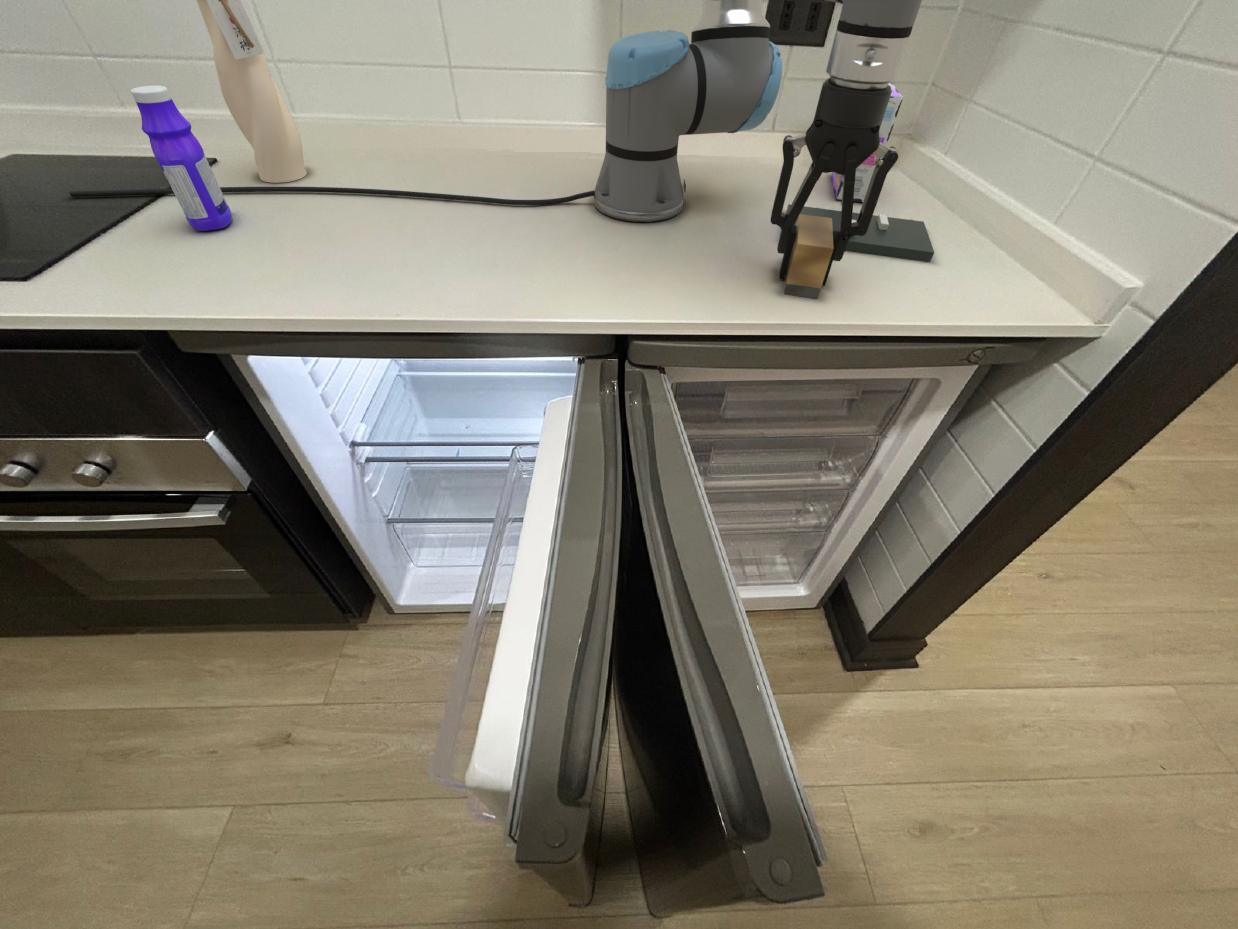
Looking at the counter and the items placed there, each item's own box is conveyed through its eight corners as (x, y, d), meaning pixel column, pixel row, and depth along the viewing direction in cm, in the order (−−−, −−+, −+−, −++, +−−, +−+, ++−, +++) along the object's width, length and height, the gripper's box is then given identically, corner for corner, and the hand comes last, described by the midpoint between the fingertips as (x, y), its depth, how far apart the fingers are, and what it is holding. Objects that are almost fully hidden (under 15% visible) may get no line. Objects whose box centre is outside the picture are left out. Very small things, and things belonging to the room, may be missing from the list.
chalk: (886, 230, 87) (889, 224, 87) (878, 229, 88) (881, 223, 87) (884, 220, 90) (886, 214, 89) (876, 219, 90) (879, 213, 90)
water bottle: (326, 175, 100) (260, -33, 80) (282, 189, 94) (198, -30, 74) (291, 163, 103) (218, -39, 83) (245, 176, 98) (156, -36, 78)
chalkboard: (783, 241, 87) (785, 232, 86) (786, 213, 95) (788, 204, 94) (930, 261, 83) (934, 252, 82) (920, 230, 92) (923, 221, 90)
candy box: (867, 204, 99) (904, 96, 87) (834, 200, 100) (866, 93, 88) (860, 178, 109) (892, 77, 97) (829, 175, 109) (858, 75, 97)
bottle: (194, 217, 86) (126, 83, 73) (235, 212, 87) (176, 80, 75) (190, 235, 81) (116, 96, 68) (233, 230, 83) (169, 93, 70)
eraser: (783, 294, 75) (797, 243, 70) (786, 261, 82) (799, 213, 77) (817, 299, 74) (833, 248, 69) (817, 266, 81) (832, 217, 76)
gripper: (775, 80, 60) (735, 280, 77) (949, 96, 57) (869, 300, 74) (778, 66, 65) (740, 257, 82) (938, 81, 62) (865, 275, 79)
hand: (801, 277), depth 78 cm, fingers open, 5 cm apart
